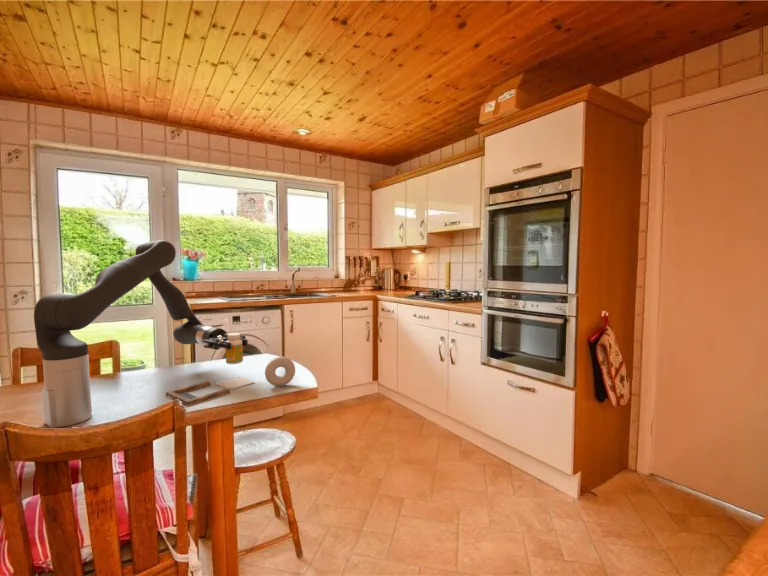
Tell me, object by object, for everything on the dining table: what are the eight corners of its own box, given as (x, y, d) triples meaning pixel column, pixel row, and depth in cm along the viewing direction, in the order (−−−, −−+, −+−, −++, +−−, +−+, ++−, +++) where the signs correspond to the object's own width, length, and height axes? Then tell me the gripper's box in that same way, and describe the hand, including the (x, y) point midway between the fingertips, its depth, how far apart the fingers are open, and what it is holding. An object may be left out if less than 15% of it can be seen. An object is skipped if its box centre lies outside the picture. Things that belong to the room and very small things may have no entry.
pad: (230, 390, 125) (230, 388, 125) (215, 384, 131) (215, 383, 131) (254, 383, 132) (254, 381, 132) (239, 377, 138) (239, 376, 138)
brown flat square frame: (187, 406, 112) (187, 401, 112) (165, 395, 120) (165, 391, 120) (230, 392, 123) (230, 389, 123) (207, 384, 131) (207, 380, 131)
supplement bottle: (237, 365, 128) (236, 336, 127) (222, 364, 129) (221, 335, 128) (246, 360, 133) (245, 332, 132) (232, 359, 134) (231, 332, 133)
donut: (266, 389, 126) (265, 359, 125) (264, 386, 129) (263, 357, 128) (296, 385, 130) (296, 356, 129) (294, 382, 133) (293, 354, 132)
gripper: (191, 330, 133) (217, 337, 123) (229, 324, 144) (256, 330, 134) (192, 351, 134) (218, 360, 124) (230, 343, 145) (257, 351, 135)
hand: (238, 344), depth 129 cm, fingers closed on supplement bottle, 5 cm apart
